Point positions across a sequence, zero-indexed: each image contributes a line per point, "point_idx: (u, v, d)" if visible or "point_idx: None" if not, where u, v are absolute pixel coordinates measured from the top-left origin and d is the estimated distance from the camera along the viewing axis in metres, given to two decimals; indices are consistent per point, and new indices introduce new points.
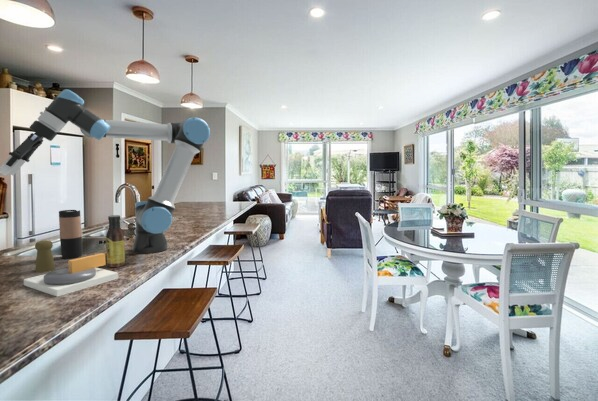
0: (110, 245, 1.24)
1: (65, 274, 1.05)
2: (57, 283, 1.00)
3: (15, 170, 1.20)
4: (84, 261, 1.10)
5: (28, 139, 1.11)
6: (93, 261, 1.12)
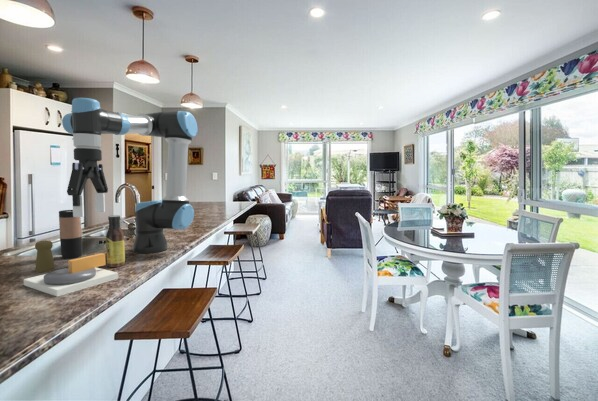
0: (110, 245, 1.24)
1: (65, 274, 1.05)
2: (57, 283, 1.00)
3: (102, 206, 1.13)
4: (84, 261, 1.10)
5: (73, 171, 0.98)
6: (93, 261, 1.12)
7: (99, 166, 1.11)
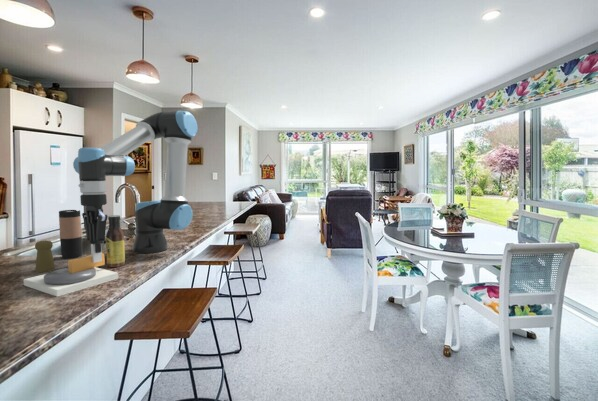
0: (110, 245, 1.24)
1: (65, 274, 1.05)
2: (58, 283, 1.00)
3: None
4: (83, 261, 1.10)
5: (100, 223, 1.08)
6: None
7: None
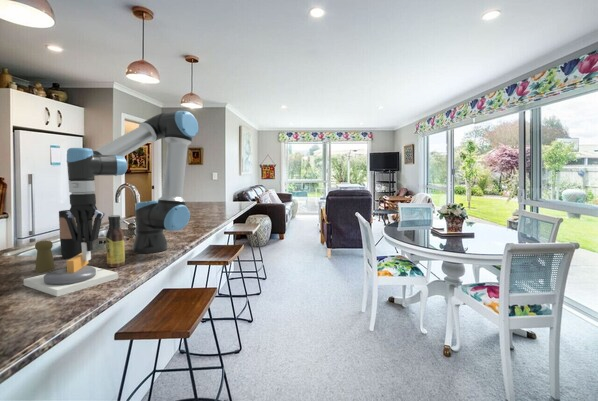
0: (110, 245, 1.24)
1: (69, 274, 1.05)
2: (75, 281, 1.02)
3: None
4: (78, 260, 1.11)
5: (98, 220, 1.13)
6: (82, 260, 1.14)
7: None
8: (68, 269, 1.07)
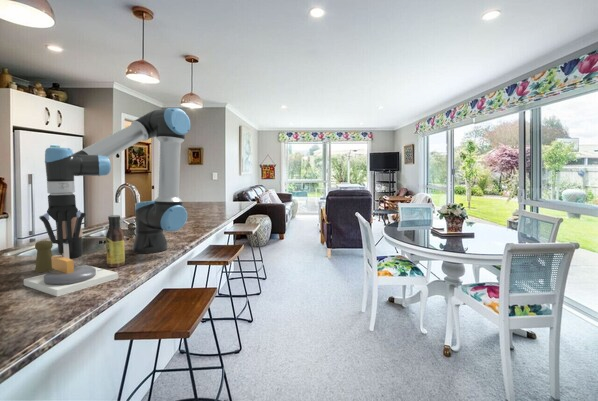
0: (110, 245, 1.24)
1: (74, 273, 1.06)
2: (92, 276, 1.07)
3: None
4: None
5: None
6: None
7: None
8: (68, 269, 1.06)
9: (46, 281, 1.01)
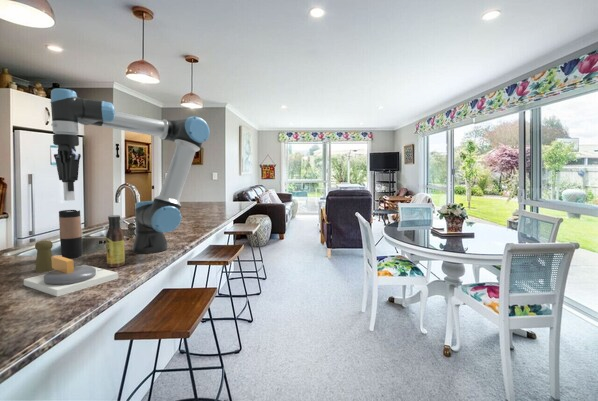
0: (110, 245, 1.24)
1: (74, 273, 1.06)
2: (92, 276, 1.07)
3: None
4: None
5: (73, 161, 1.14)
6: None
7: None
8: (68, 269, 1.06)
9: (46, 281, 1.01)
